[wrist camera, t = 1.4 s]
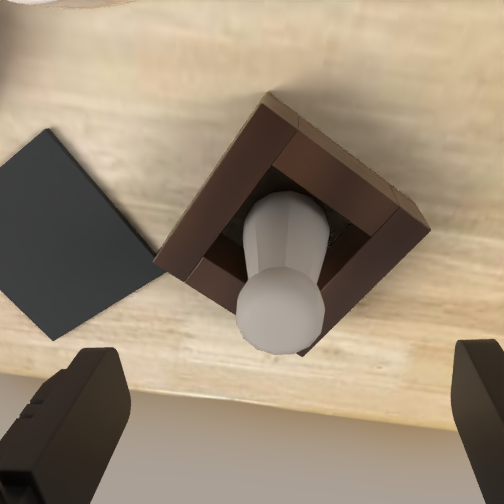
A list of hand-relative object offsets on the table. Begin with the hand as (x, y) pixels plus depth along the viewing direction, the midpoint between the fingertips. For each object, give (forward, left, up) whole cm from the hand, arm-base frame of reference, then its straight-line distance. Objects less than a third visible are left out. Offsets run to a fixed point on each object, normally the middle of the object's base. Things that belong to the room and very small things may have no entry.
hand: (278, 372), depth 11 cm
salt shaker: (+4, -3, -22) cm, 23 cm away
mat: (-4, -20, -22) cm, 30 cm away
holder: (+4, -3, -22) cm, 22 cm away
